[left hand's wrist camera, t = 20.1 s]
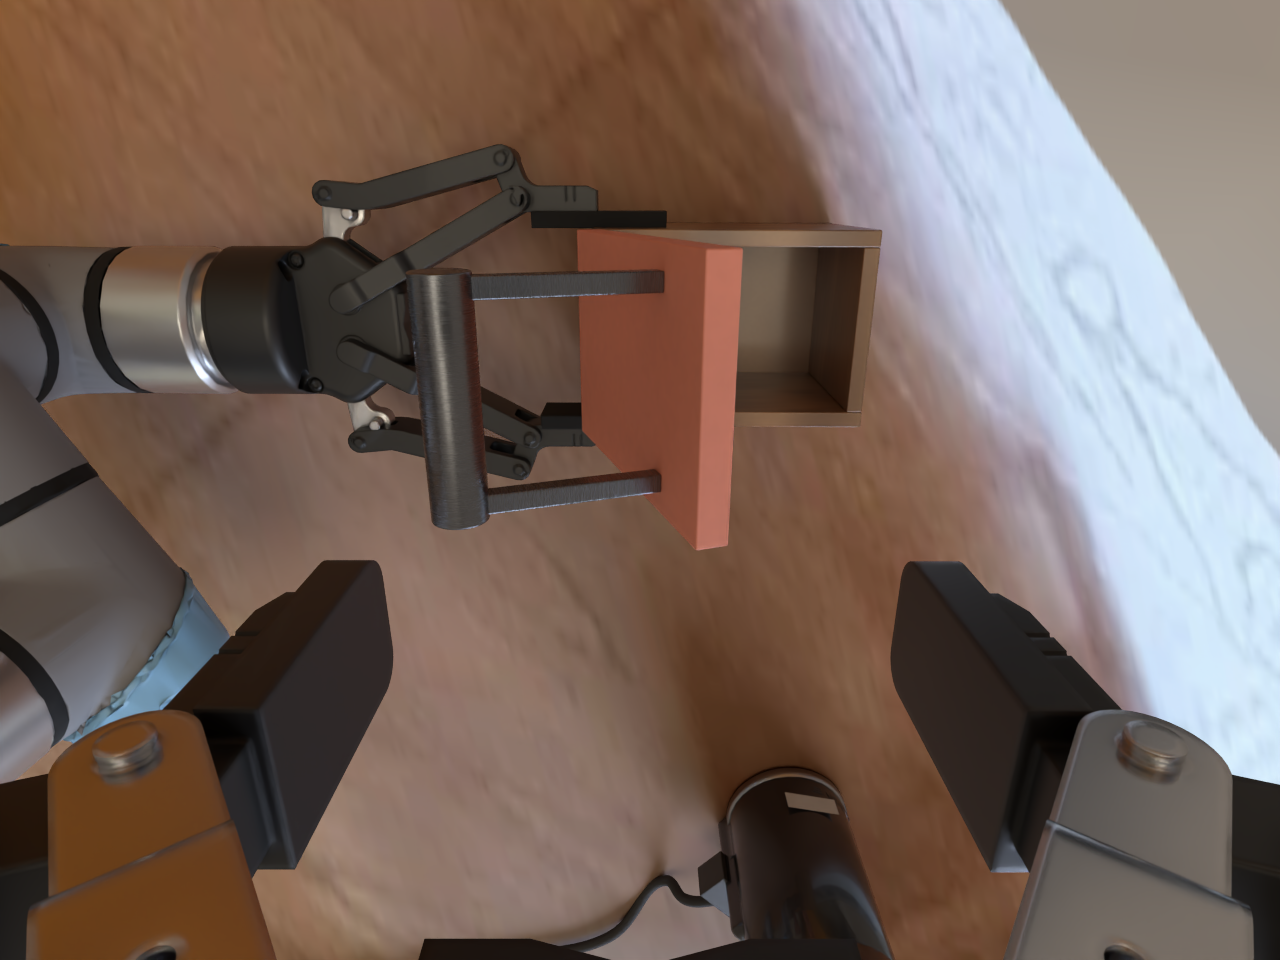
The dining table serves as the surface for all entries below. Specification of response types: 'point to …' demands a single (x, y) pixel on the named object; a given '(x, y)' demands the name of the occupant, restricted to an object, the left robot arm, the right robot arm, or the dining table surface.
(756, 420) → the chest
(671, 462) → the lid
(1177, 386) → the dining table surface
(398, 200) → the right robot arm
